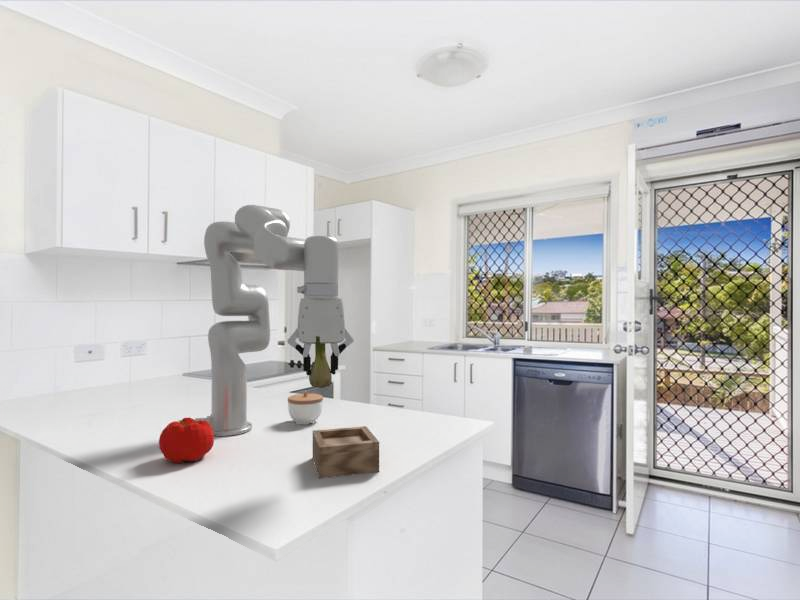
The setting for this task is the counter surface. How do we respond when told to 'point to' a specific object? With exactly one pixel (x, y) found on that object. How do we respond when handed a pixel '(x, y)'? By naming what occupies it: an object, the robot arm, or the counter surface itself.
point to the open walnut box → (345, 451)
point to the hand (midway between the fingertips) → (320, 373)
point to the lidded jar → (305, 407)
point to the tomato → (186, 440)
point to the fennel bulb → (320, 367)
